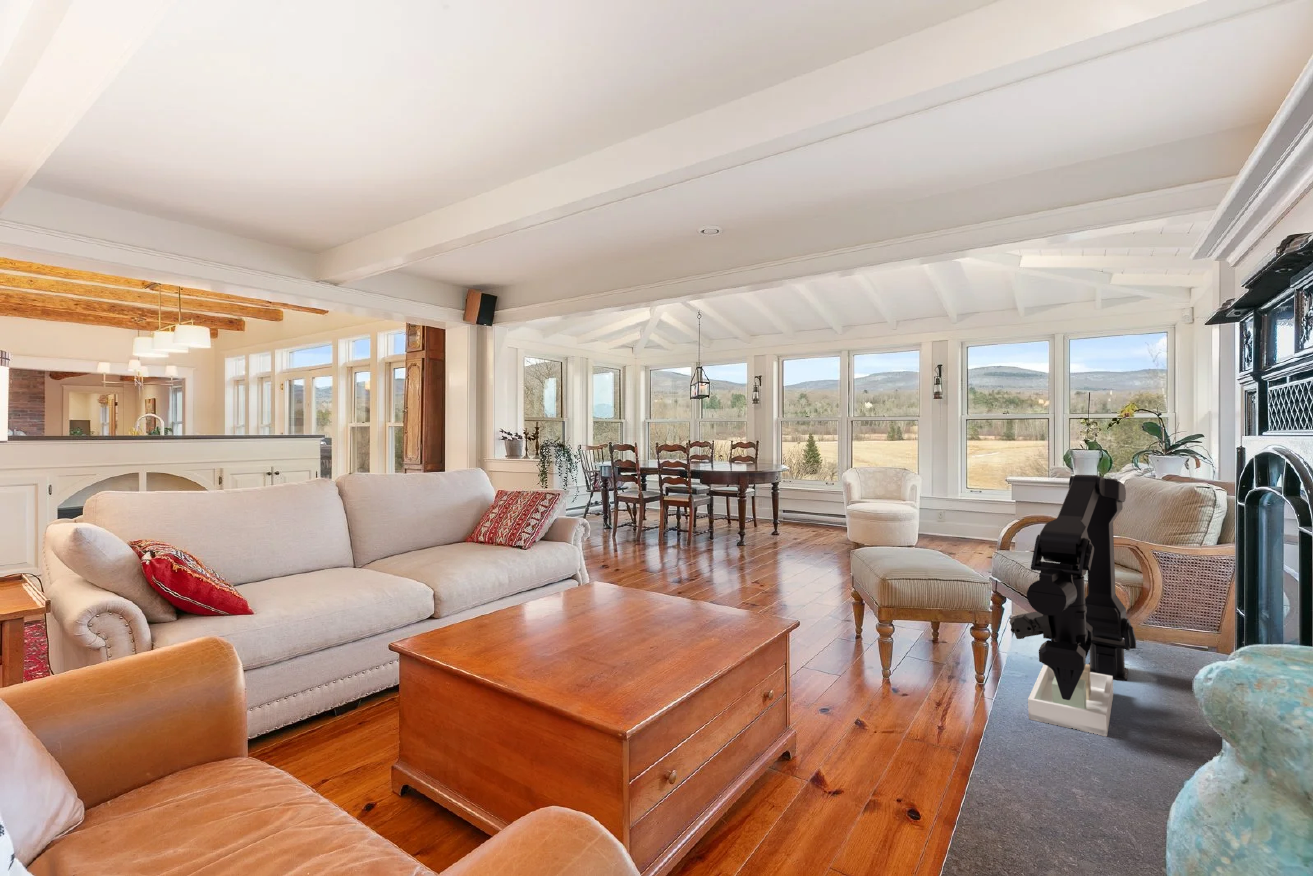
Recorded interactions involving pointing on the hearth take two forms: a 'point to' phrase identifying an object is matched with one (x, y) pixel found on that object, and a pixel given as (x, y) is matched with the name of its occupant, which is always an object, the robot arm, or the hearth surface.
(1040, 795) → the hearth surface
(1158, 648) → the hearth surface
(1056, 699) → the green block
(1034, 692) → the tray
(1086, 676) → the birch block
